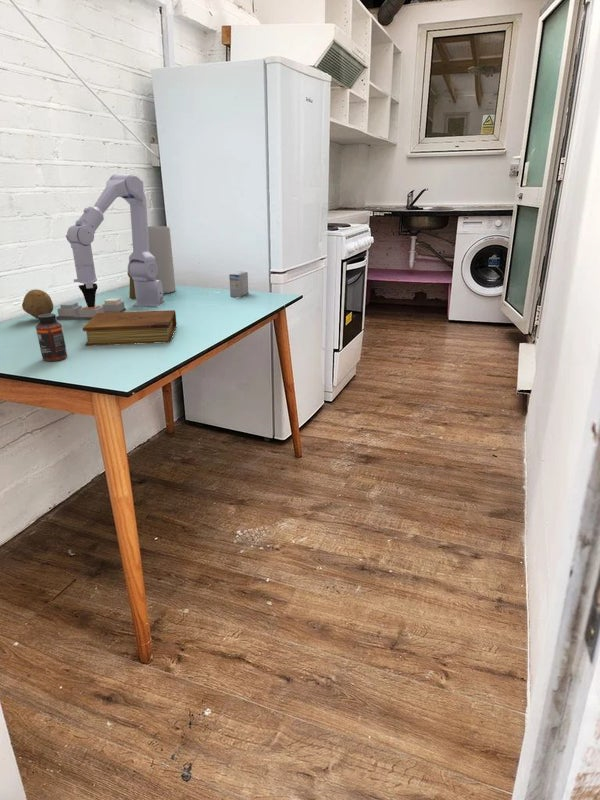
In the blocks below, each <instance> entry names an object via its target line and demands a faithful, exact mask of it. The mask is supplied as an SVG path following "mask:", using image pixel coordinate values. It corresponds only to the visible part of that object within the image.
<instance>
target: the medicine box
mask: <svg viewBox="0 0 600 800" xmlns="http://www.w3.org/2000/svg"><path fill="white" fill-rule="evenodd" d="M228 276H229V277H228V280H229V294H230V295H229V296H230V297H231V298H232V297H233V298H243V296H245V295H247V294H249V276H248V272H247V271H244V270H243V271H241V270H240V271H235V272H232V273H230V274H229V275H228Z"/></svg>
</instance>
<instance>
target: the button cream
mask: <svg viewBox="0 0 600 800" xmlns="http://www.w3.org/2000/svg"><path fill="white" fill-rule="evenodd" d="M121 301H122V300H121V298H108V299H106V300H104V303H105V304H118V303H120V302H121Z"/></svg>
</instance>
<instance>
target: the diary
mask: <svg viewBox="0 0 600 800" xmlns="http://www.w3.org/2000/svg"><path fill="white" fill-rule="evenodd" d="M176 313H177V312H176V309H175V310H174V309H172V310H171V309H170V310H169V309H167V310H145V311H144V310H142V311H141V310H140V311H139V310H138V311H124V312H109V313H97V314H96V315H95V316H94V317H93V318H92V319H91V320H88V321H87V323H86V324H85V325H83V326H82V332H86V336H87V337H86V338H87V342H86V343H85V344H84V345H85V347H90V346H91V347H94V346H93V345H96V346H114V345H115V344H120V345H138V344H137V343H145V344H155V343H154V342H169V343H171V342H172V340H171V339H173V337H172V336H174V334H175V332H176V329H175V328H177V327H176V325H177V314H176ZM177 326H178V325H177ZM174 331H175V332H174ZM173 333H174V334H173ZM170 341H171V342H170ZM135 343H136V344H135ZM115 346H116V345H115Z"/></svg>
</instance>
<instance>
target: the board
mask: <svg viewBox="0 0 600 800" xmlns="http://www.w3.org/2000/svg"><path fill="white" fill-rule="evenodd" d="M83 308H84V307H83V306H82V305H80V304H78V307H75V308H73V309H61V306H60V307H58V308H57V316H56V320H87V321H90V320H91V319H92V318H93V317H94V316H95V315H96V314H97V313H109V312H127V308H126V306H125V301H123V300H121V302H120V303H118V304H105V302H103V303H101V305H100V307H99V308H97V309H95V310H93V309H83Z"/></svg>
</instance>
